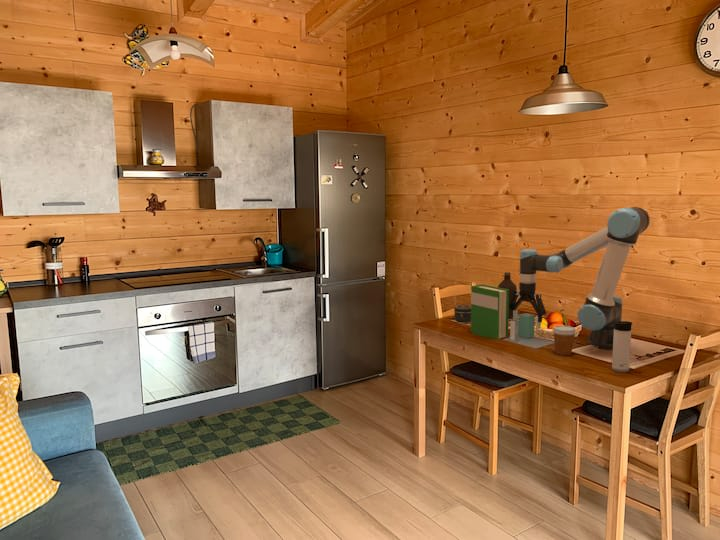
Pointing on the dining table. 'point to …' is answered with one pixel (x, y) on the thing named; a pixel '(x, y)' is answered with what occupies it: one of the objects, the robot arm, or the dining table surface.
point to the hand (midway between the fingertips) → (526, 325)
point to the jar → (462, 313)
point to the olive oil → (508, 285)
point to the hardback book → (489, 311)
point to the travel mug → (621, 346)
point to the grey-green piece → (526, 325)
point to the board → (532, 342)
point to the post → (514, 331)
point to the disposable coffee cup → (563, 339)
